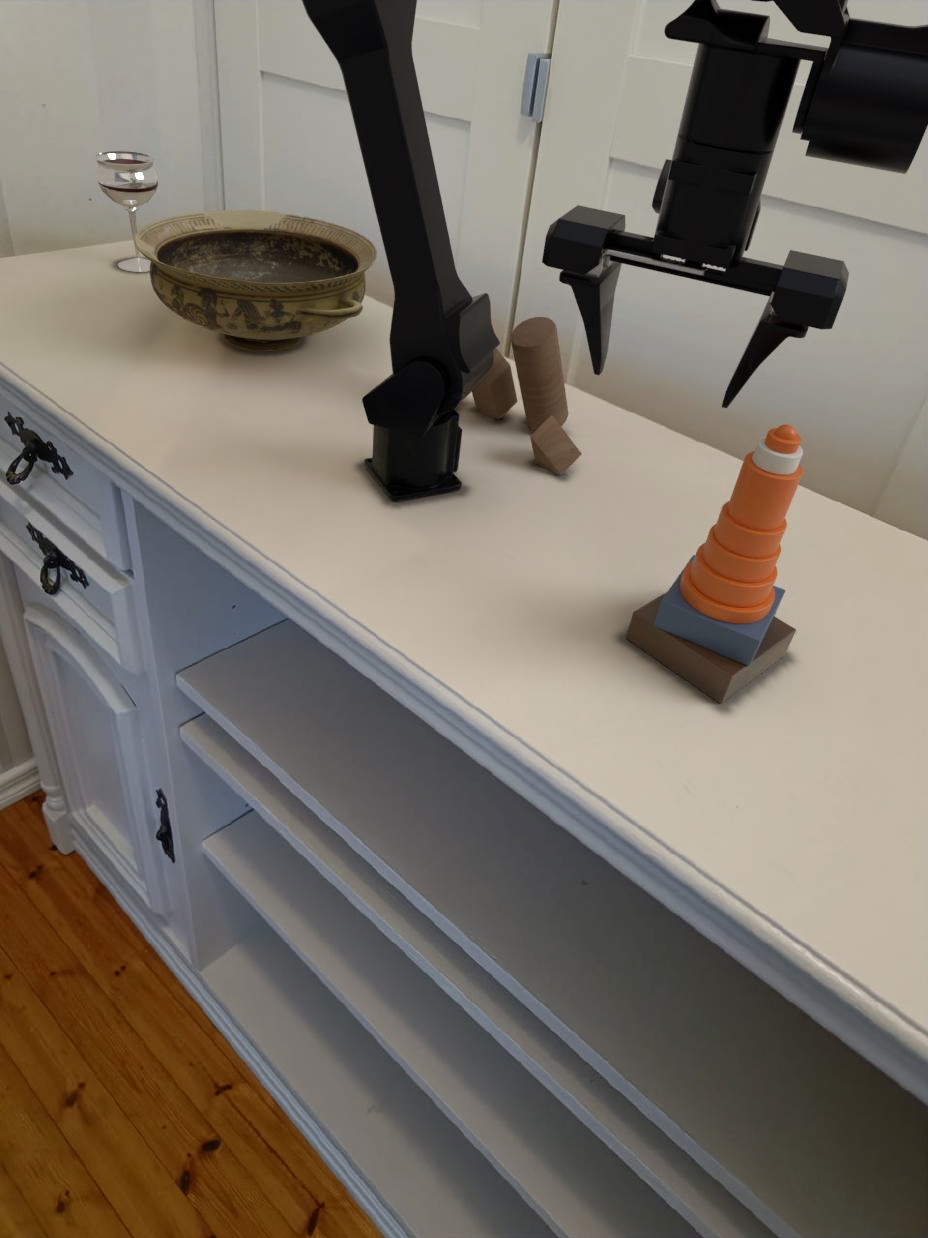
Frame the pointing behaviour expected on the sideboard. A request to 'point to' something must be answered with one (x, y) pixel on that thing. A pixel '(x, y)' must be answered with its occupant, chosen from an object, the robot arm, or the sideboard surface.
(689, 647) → the base block
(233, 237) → the ceramic bowl
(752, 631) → the top block
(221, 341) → the sideboard surface
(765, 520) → the cone
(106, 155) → the wineglass
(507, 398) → the wooden block set
